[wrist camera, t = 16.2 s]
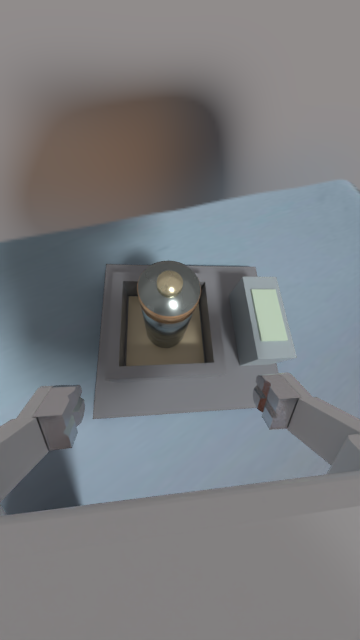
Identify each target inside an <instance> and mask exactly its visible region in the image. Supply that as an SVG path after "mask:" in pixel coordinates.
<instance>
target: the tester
mask: <svg viewBox="0 0 360 640" xmlns="http://www.w3.org/2000/svg"><path fill="white" fill-rule="evenodd" d="M149 266H150V265H112V264H106V274H105V285H104V296H103V308H102V319H101V331H100V342H99V354H98V365H97V377H96V388H95V400H94V411H93V419H101V418H115V417H130V416H144V415H159V414H173V413H188V412H202V411H217V410H231V409H246V408H257V407H256V405H255V403H254V400H253V390H254V388H255V387H256V386H257V385H258V384H257V383H256V377H257V376H258V375H263V374H278V369H277V364H276V363H279V362H283V361H286V360H290V359H294V358H297V356H296V352H295V348H294V344H293V341H292V337H291V333H290V329H289V325H288V321H287V317H286V313H285V309H284V305H283V301H282V297H281V294H280V290H279V286H278V282H277V278H276V277H257V272H256V268H255V267H224V266H187V267H189V268H190V269H191V270H192V271H193V272H194V273H195V274H196V276H197V277H198V279H199V282H200V285H201V295H200V299H199V301H198V304H197V306H196V308H195V310H194V312H193V314H192V317H191V319H190V322H189V324H188V327H187V329H186V332H185V334H184V337H183V339H182V340H181V341H180V342H179V343H178V344H177V345H175V346H173V347H170V348H161V347H158V346H156V345H154V344H153V343H152V342H151V341H150V340H149V338H148V336H147V332H146V328H145V323H144V318H143V313H142V308H141V305H140V302H139V298H138V293H137V283H138V280H139V277H140V276H141V274H142V273H143V271H144V270H145V269H146V268H148V267H149Z"/></svg>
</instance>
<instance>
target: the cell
mask: <svg viewBox="0 0 360 640" xmlns="http://www.w3.org/2000/svg"><path fill="white" fill-rule="evenodd" d="M137 293H138V298H139V302H140V305H141V308H142V313H143V318H144V323H145V328H146V332H147V336H148V338H149V340H150V341H151V342H152V343H153V344H154V345H156V346H158V347H161V348H170V347H173V346H175V345H177V344H178V343H179V342H180V341H181V340H182V339H183V337H184V334H185V332H186V329H187V327H188V324H189V322H190V319H191V317H192V314H193V312H194V310H195V308H196V306H197V304H198V301H199V299H200V295H201V285H200V282H199V279H198V277H197V276H196V274H195V273H194V272H193V271H192V270H191V269H190V268H189V267H187V266H186V265H184V264H182V263H179V262H175V261H161V262H157V263H154V264H152V265H150V266H149V267H148V268H146V269H145V270H144V271H143V273H142V274H141V276H140V277H139V280H138V283H137Z"/></svg>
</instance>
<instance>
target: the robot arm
mask: <svg viewBox="0 0 360 640" xmlns="http://www.w3.org/2000/svg"><path fill="white" fill-rule="evenodd" d="M256 383H257V384H258V385H257V386H256V387H255V388H254V390H253V400H254V403H255V405H256V407H257V409H258V410H260V411H261V412H263V414H262V418H263V419H264V421H265V423H266V425H267V426H268V428H269V430H272V429H287V430H289V431H290V432H291V433H292V434H293V435H295V436H296V437H297V438H298V439H300V440H301V441H302V442H303V443H304V444H306V445H307V446H308V447H309V448H311V449H312V450H313V451H314V452H315V453H317V454H318V455H319V456H320V457H322V458H323V459H324V460H325V461H326V462H328V463H329V464H330V465H331V467H330V468H329V470H328V472H327V474H326V475H318V476H311V477H303V478H295V479H287V480H279V481H271V482H263V483H255V484H247V485H240V486H232V487H224V488H216V489H208V490H200V491H192V492H185V493H177V494H169V495H161V496H153V497H146V498H138V499H130V500H122V501H114V502H106V503H98V504H90V505H83V506H75V507H67V508H59V509H51V510H43V511H35V512H27V513H20V514H12V515H6V513H5V511H4V510H3V508H2V507H1V505H0V640H360V419H358V418H356V417H354V416H352V415H350V414H348V413H346V412H344V411H342V410H340V409H338V408H336V407H335V406H333V405H331V404H329V403H327V402H325V401H323V400H321V399H319V398H317V397H312V396H311V395H310V393H309V392H308V391H307V390H306V389H305V388H304V387H303V386H302V385H301V384H300V383H299V382H298V381H297V380H296V379H295V378H294V377H293V376H292V375H291V374H290V373H278V374H263V375H258V376H257V377H256ZM81 393H82V390H81V386H80V385H56V386H41V387H39V388H38V389H37V390H36V392H35V393H34V395H33V396H32V397H31V399H30V400H29V401H28V403H27V404H26V406H25V407H24V408H23V410H22V411H21V413H20V414H19V415H18V417H17V418H16V419H11V420H10V421H8V422H7V423H5V424H4V425H2V426H0V502H1V501H2V500H3V499H4V498H5V497H6V496H7V495H8V494H9V493H10V492H11V491H12V490H13V489H14V488H15V487H16V485H17V484H18V483H19V482H20V481H21V480H22V479H23V478H24V477H25V476H26V475H27V474H28V473H29V472H30V471H31V470H32V469H33V468H34V467H35V466H36V465H37V464H38V463H39V461H40V460H41V459H42V458H43V457H44V456H45V455H46V454H47V453H48V452H49V451H50V450H58V449H66V448H72V446H73V444H74V441H75V438H76V436H77V433H78V431H77V426H78V425H79V424H80V423H81V422H82V419H83V416H84V410H85V404H84V399H82V398H81V397H80V395H81Z"/></svg>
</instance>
